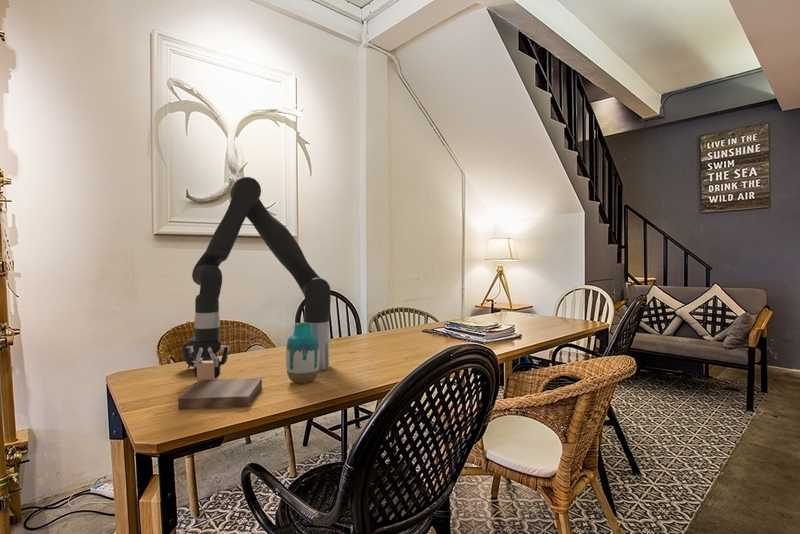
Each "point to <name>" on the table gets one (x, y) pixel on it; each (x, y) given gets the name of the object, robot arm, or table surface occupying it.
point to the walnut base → (220, 394)
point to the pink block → (205, 371)
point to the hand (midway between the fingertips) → (207, 377)
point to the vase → (302, 354)
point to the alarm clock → (191, 343)
